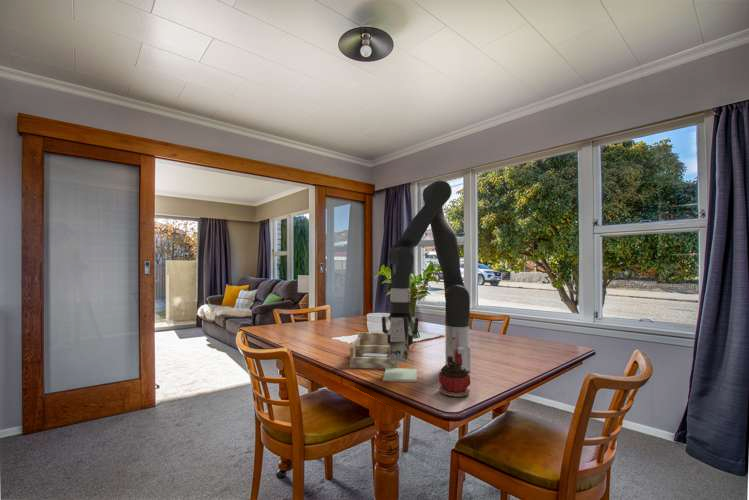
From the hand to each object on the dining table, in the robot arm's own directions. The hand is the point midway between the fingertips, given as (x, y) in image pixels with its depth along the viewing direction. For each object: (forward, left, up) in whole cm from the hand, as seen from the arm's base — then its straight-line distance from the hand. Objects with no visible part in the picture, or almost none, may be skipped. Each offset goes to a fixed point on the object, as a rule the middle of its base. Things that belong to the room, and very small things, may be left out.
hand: (400, 344), depth 133 cm
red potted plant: (-18, +16, -12) cm, 27 cm away
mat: (0, 0, -11) cm, 11 cm away
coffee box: (0, 0, -6) cm, 6 cm away
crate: (+11, -18, -11) cm, 24 cm away
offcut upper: (+11, -12, -10) cm, 19 cm away
